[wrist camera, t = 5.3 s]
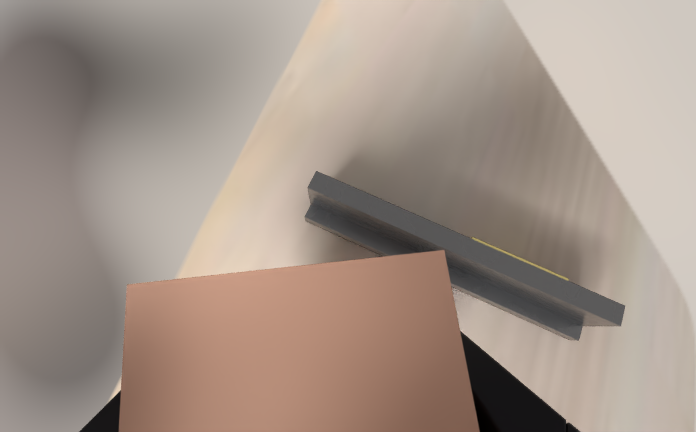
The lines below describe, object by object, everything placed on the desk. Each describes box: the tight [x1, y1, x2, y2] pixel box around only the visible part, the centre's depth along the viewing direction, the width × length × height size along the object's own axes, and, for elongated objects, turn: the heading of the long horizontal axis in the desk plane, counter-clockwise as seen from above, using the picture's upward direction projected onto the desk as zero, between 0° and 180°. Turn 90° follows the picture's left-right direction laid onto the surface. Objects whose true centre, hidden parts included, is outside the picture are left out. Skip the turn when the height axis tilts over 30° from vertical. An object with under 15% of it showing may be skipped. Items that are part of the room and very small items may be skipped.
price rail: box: [305, 171, 625, 341], centre depth 19 cm, size 2×16×4 cm, turn 65°
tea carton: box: [119, 250, 480, 432], centre depth 10 cm, size 6×6×10 cm
